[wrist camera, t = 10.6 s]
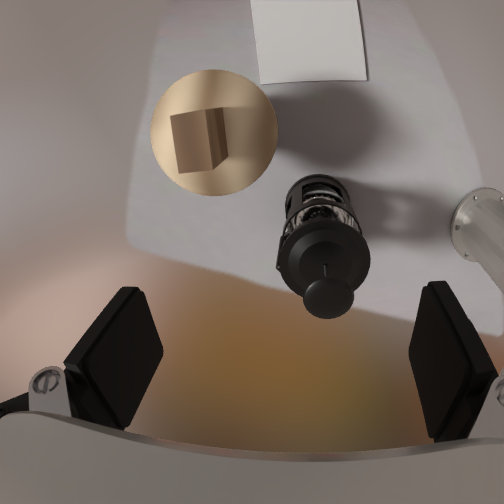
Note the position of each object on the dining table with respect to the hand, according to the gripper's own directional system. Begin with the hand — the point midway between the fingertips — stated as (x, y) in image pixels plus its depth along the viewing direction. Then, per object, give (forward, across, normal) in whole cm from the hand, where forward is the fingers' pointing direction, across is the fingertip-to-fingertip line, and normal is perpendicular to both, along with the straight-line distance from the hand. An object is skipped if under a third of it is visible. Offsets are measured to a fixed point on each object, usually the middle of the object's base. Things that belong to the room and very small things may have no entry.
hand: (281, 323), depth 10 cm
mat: (+36, -3, -16) cm, 40 cm away
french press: (+36, -2, +9) cm, 38 cm away
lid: (+24, +8, -4) cm, 26 cm away
